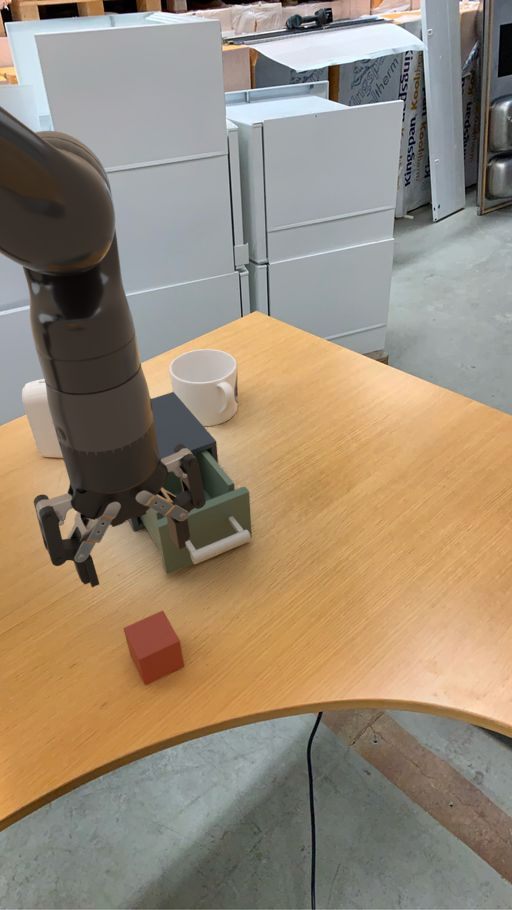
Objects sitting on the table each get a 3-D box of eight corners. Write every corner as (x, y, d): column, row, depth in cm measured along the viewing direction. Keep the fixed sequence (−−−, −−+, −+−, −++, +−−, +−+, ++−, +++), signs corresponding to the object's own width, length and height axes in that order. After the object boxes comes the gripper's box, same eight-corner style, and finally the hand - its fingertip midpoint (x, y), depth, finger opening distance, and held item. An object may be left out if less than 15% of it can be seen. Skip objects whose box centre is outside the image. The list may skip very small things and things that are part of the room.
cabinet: (221, 497, 88) (216, 441, 82) (133, 532, 84) (121, 474, 78) (180, 445, 98) (173, 391, 92) (100, 473, 93) (86, 418, 87)
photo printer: (35, 459, 96) (13, 388, 89) (45, 441, 100) (24, 371, 92) (103, 461, 95) (86, 389, 88) (111, 443, 99) (95, 373, 91)
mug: (163, 405, 106) (156, 362, 101) (218, 384, 111) (215, 342, 106) (204, 445, 98) (199, 400, 93) (262, 421, 102) (261, 377, 97)
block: (145, 685, 66) (138, 660, 64) (129, 653, 69) (123, 627, 67) (184, 666, 68) (179, 640, 65) (167, 635, 71) (163, 610, 68)
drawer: (269, 560, 78) (267, 512, 73) (181, 599, 74) (173, 551, 69) (208, 482, 89) (203, 437, 85) (129, 512, 85) (119, 466, 81)
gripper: (168, 371, 56) (188, 510, 66) (0, 424, 51) (50, 566, 61) (207, 413, 51) (222, 557, 61) (24, 477, 46) (74, 622, 56)
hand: (136, 561), depth 61 cm, fingers open, 8 cm apart
